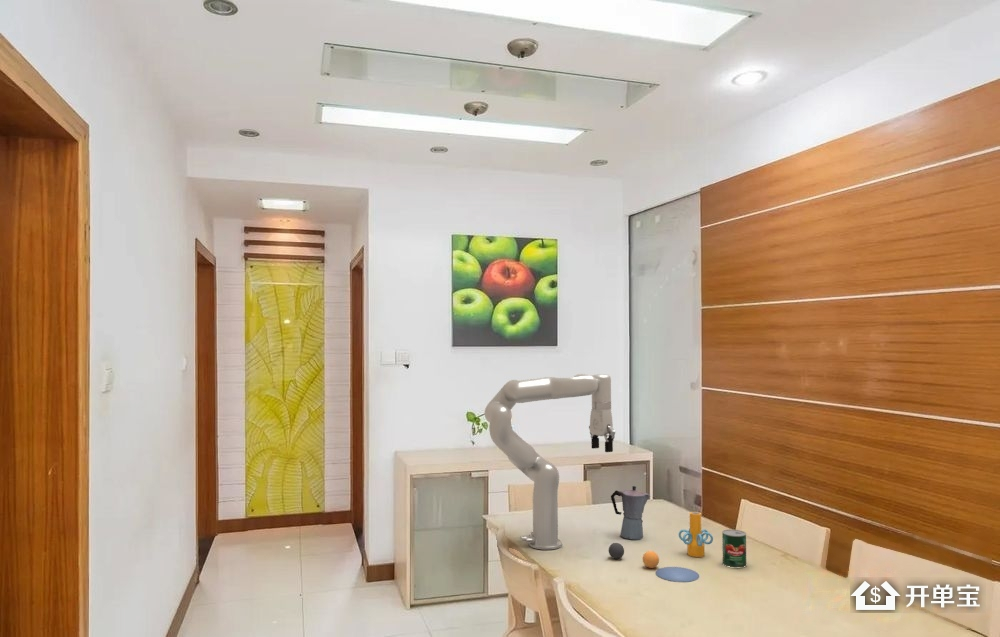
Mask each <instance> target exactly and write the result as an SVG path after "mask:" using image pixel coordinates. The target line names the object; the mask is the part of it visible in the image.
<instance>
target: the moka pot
mask: <svg viewBox="0 0 1000 637" xmlns="http://www.w3.org/2000/svg"><path fill="white" fill-rule="evenodd" d="M631 488H632V490H630V489H629V490H623V491H621V490H614V492H613V493H612V494H610V500H611V503H612V506H613V509H614V510H613V511H614V513H615V514H616V515H618V516H619V515H620V516H621V515H623V517H622V518H623V519H622V525H621V530H620V537H622V538H623V539H627V540H642V539H643V538H644V530H643V529H644V528H643V513H644V511H645V510H644V509H645V506H646V505H647V502H648V500H649V498H650V497H651V494H649V493H646V492H643V491H641V490H637V486H635V485H633V486H632V487H631ZM616 496H618V497H621V502H622V511H623V514H622V512H621V511H618V510H619V509H618V508H617V503H616V499H615V497H616Z"/></svg>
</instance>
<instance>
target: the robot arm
mask: <svg viewBox="0 0 1000 637" xmlns="http://www.w3.org/2000/svg"><path fill="white" fill-rule="evenodd" d="M590 395H591V411H590V416H589V417H590V418H589V426H588V429H589V434H590V438H591V449H593V450H594V449H599V448H600V438H599V437H604V439H605V442H604V452H605V453H612V452H613V451H614V448H613V447H614V444H613V443H614V439H615V435H616V430H615V429H614V427H613V425H614V424H613V415H612V378H611V376H610V375H609V374H600V373H599V374H585V373H584V374H583V373H579V374H576V375H573V376H571V377H553V376H547V377H546V376H545V377H540V378H538V377H537V378H533V379H532V378H531V379H521V380H517V379H511V380H509V381H507V382H506V383H505V384H504V385H503V386H502V387H501V388H500V389H499V390H498V392H497V393H496V394H495V396H493V398H492V399H491V400H490V401H489V402H488V403H487V405H486V407H485V409H484V418H485V419H486V421H487V422H488V423H489V425H488V426H489V435H490V438H491V440H492V442H493V444H494V445H495V446H496V447H498V449H499V450H501V452H503V454H504V455H506V456H507V458H508V460H509V462H510V463H511V464H513V465H514V466H515V467H516V468H517V469H518V470H519V471H520V472H522V473H523V475H525V476H526V477H528V478H529V480H531V481H533V490H532V531H530V534H528V535H520V541H521V542H526V543H528V546H529V547H530V548H532V549H536V550H543V551H545V550H546V551H549V550H551V551H552V550H556V549H559V548H561V547H562V546H563V541H562V540H560V539H559V520H558V519H559V517H558V516H559V513H558V512H559V511H558V510H559V508H558V507H559V506H558V505H559V502H558V501H559V500H558V498H559V497H558V495H559V494H558V493H559V484H560V473H559V471H558V470H559V469H558V468H557V467H556V465H555V464H554V463H552V462H550V461H548V460H547V459H545V458H543V457H542V456H541V455H540V454H539V453H538V452H537V451H536V450H535V448H534V447H533V446H532V445H531V444H529V443H528V442H526V440H524V439H523V438H522V437H521V436H520V435H518V433H516V432H515V431H514V430H513V427H512V425H511V423H512V416H513V414H512V409H513V408H514V406H515V405H516V404H523V403H531V402H538V401H539V402H540V401H547V400H559V399H567V398H577V397H585V396H590Z"/></svg>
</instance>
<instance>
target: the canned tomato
mask: <svg viewBox="0 0 1000 637" xmlns="http://www.w3.org/2000/svg"><path fill="white" fill-rule="evenodd" d="M721 532H722V534H721V536H722V537H721V538H722V565H723V564H724V566H725V565H726V566H725V567H727V566H730V567H744V566H746V564H747V533H746V532H745V531H743V530H738V529H723V530H722V531H721ZM730 567H729V568H730ZM746 567H747V566H746ZM744 568H745V567H744Z"/></svg>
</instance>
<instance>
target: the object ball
mask: <svg viewBox="0 0 1000 637" xmlns="http://www.w3.org/2000/svg"><path fill="white" fill-rule="evenodd" d="M642 563H643V565H644V566H645V567H647V568H649V569H653V568H656V567H657V566H658V565H659V563H660V558H659V555H658V553H656V552H655V551H653V550H648V551H646V552H644V554H643V556H642Z"/></svg>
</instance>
